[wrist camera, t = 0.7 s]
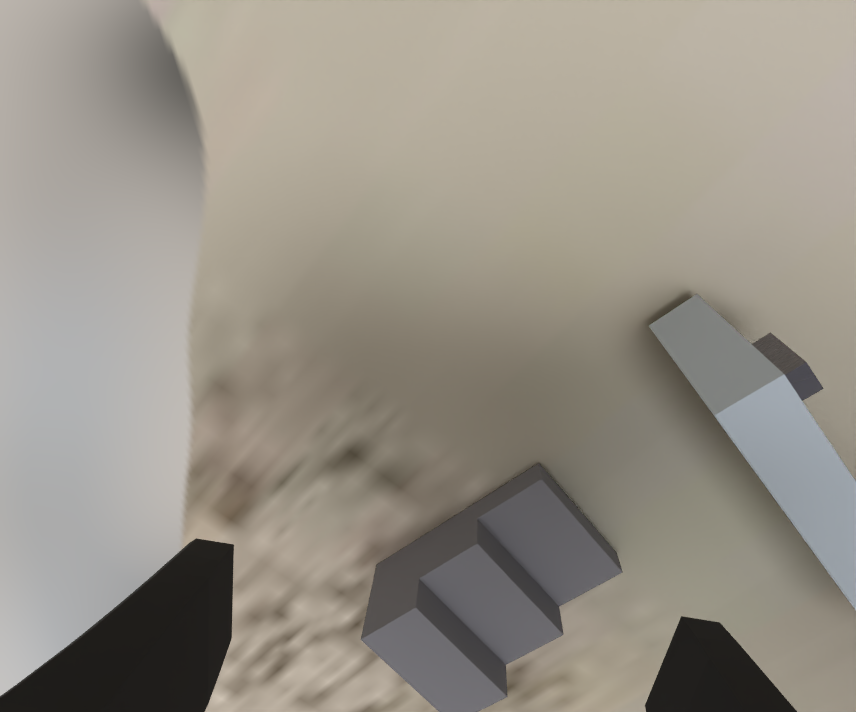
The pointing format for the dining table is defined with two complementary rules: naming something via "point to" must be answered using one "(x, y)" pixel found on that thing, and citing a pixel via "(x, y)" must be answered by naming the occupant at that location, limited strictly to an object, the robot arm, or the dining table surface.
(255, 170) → the dining table surface
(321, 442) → the dining table surface
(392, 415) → the dining table surface
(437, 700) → the grey stepped block
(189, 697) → the robot arm
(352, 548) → the dining table surface
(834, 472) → the door leaf
